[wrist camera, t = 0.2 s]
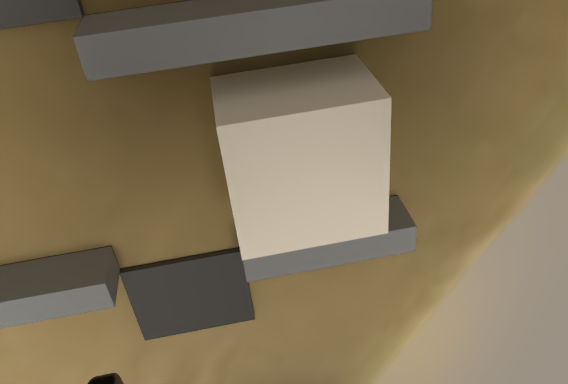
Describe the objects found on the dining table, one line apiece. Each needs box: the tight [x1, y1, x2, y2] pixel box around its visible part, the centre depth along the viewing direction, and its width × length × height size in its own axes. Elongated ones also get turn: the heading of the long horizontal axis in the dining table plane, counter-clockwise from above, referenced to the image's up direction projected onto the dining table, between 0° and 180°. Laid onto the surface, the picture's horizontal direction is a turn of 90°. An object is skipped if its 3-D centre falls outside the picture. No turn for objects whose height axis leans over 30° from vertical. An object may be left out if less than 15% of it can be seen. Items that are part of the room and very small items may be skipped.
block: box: [210, 54, 391, 260], centre depth 21 cm, size 6×6×4 cm
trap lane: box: [0, 0, 433, 340], centre depth 20 cm, size 22×24×4 cm
